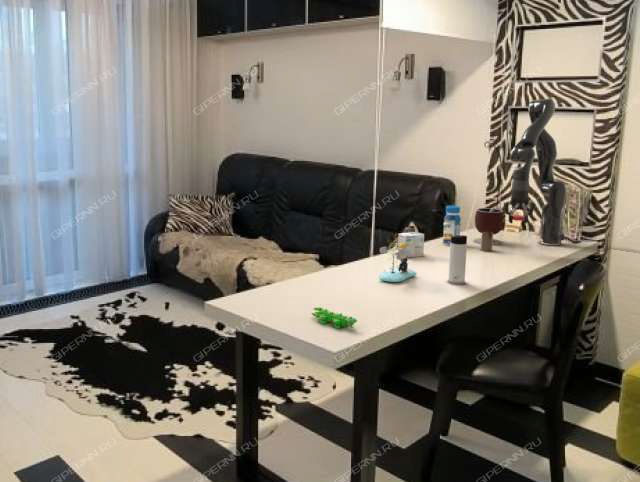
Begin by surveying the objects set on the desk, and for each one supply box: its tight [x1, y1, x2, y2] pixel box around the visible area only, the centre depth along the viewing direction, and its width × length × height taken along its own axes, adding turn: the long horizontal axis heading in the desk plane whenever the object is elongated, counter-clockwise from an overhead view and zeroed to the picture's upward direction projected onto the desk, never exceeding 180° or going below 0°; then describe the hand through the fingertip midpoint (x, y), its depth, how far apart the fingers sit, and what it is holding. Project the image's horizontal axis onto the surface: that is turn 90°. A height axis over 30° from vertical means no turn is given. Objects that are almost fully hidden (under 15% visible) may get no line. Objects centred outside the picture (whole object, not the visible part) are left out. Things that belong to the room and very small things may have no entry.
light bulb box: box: [397, 231, 425, 258], centre depth 291 cm, size 11×7×11 cm, turn 108°
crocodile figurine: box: [311, 306, 358, 329], centre depth 202 cm, size 7×18×4 cm, turn 44°
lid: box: [512, 214, 525, 222], centre depth 293 cm, size 6×6×2 cm
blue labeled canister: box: [442, 205, 462, 247], centre depth 313 cm, size 8×8×20 cm
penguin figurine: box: [378, 243, 417, 283], centre depth 253 cm, size 20×11×15 cm, turn 133°
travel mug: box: [448, 234, 468, 286], centre depth 246 cm, size 6×7×20 cm
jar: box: [480, 231, 494, 252], centre depth 301 cm, size 5×5×9 cm
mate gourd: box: [474, 206, 504, 246], centre depth 317 cm, size 16×14×20 cm
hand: (517, 223), depth 294 cm, fingers closed on lid, 5 cm apart
